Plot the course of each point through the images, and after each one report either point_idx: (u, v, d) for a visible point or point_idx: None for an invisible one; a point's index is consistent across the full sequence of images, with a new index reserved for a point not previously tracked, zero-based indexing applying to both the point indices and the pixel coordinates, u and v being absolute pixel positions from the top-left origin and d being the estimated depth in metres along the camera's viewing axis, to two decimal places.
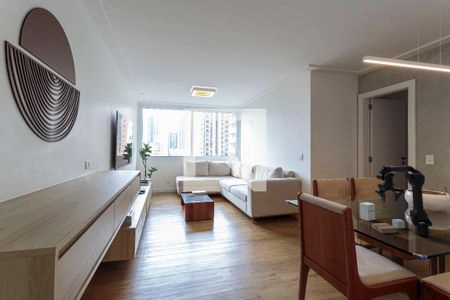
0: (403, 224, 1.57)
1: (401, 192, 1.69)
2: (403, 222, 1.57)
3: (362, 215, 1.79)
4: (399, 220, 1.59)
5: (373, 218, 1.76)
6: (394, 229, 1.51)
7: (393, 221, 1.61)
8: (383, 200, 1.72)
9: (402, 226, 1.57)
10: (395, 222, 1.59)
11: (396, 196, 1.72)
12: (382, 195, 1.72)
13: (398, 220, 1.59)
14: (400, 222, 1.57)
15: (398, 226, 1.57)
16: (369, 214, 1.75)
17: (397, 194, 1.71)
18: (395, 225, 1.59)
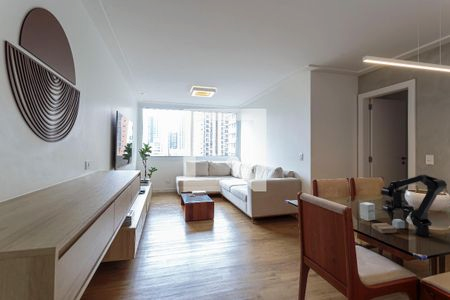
0: (403, 224, 1.57)
1: (411, 210, 1.56)
2: (403, 222, 1.57)
3: (362, 215, 1.79)
4: (399, 220, 1.59)
5: (373, 218, 1.76)
6: (394, 229, 1.51)
7: (393, 221, 1.61)
8: (391, 218, 1.59)
9: (402, 226, 1.57)
10: (395, 222, 1.59)
11: (405, 214, 1.59)
12: (390, 213, 1.59)
13: (398, 220, 1.59)
14: (400, 222, 1.57)
15: (398, 226, 1.57)
16: (369, 214, 1.75)
17: (406, 212, 1.58)
18: (395, 225, 1.59)
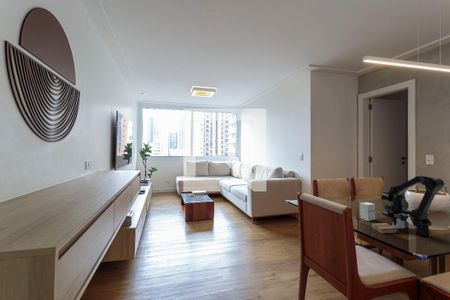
0: (403, 224, 1.57)
1: (411, 215, 1.56)
2: (403, 222, 1.57)
3: (362, 215, 1.79)
4: (399, 220, 1.59)
5: (373, 218, 1.76)
6: (394, 229, 1.51)
7: None
8: (394, 223, 1.59)
9: (402, 226, 1.57)
10: None
11: (402, 219, 1.59)
12: (393, 218, 1.59)
13: (398, 220, 1.59)
14: (400, 222, 1.57)
15: (398, 226, 1.57)
16: (369, 214, 1.75)
17: (403, 217, 1.58)
18: None
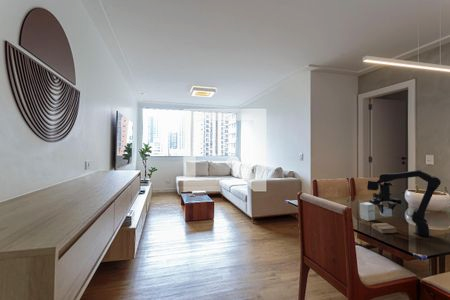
0: (390, 212, 1.54)
1: (398, 203, 1.53)
2: (390, 210, 1.54)
3: (362, 215, 1.79)
4: (386, 208, 1.56)
5: (373, 218, 1.76)
6: (394, 229, 1.51)
7: None
8: (381, 211, 1.56)
9: (389, 214, 1.54)
10: None
11: (390, 207, 1.56)
12: None
13: (385, 208, 1.56)
14: (387, 210, 1.54)
15: (385, 214, 1.54)
16: (369, 214, 1.75)
17: (391, 205, 1.55)
18: None
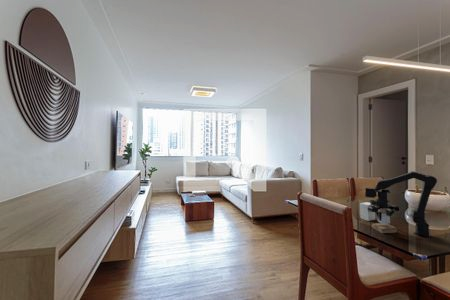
0: (388, 219, 1.53)
1: (396, 210, 1.52)
2: (388, 217, 1.53)
3: (362, 215, 1.79)
4: (384, 215, 1.55)
5: (373, 218, 1.76)
6: (394, 229, 1.51)
7: None
8: (379, 219, 1.55)
9: (387, 221, 1.53)
10: None
11: (388, 214, 1.55)
12: (378, 213, 1.55)
13: (383, 215, 1.55)
14: (385, 217, 1.53)
15: (383, 222, 1.53)
16: (369, 214, 1.75)
17: (389, 212, 1.54)
18: None
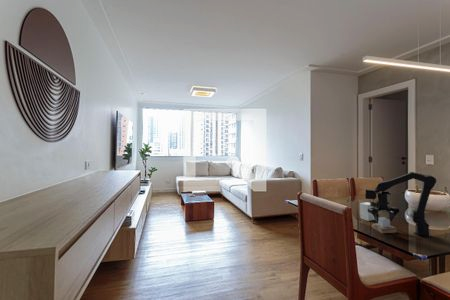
0: (388, 223, 1.53)
1: (396, 212, 1.52)
2: (388, 220, 1.53)
3: (362, 215, 1.79)
4: (384, 218, 1.55)
5: (373, 218, 1.76)
6: (394, 229, 1.51)
7: (378, 219, 1.57)
8: (376, 220, 1.55)
9: (387, 225, 1.53)
10: (380, 220, 1.55)
11: (391, 216, 1.55)
12: (375, 215, 1.55)
13: (383, 218, 1.55)
14: (385, 220, 1.53)
15: (384, 225, 1.53)
16: (369, 214, 1.75)
17: (392, 214, 1.54)
18: (380, 224, 1.55)
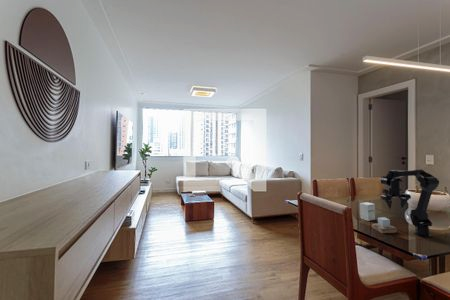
0: (388, 223, 1.53)
1: (408, 198, 1.61)
2: (388, 220, 1.53)
3: (362, 215, 1.79)
4: (384, 218, 1.55)
5: (373, 218, 1.76)
6: (394, 229, 1.51)
7: (378, 219, 1.57)
8: (389, 206, 1.63)
9: (387, 225, 1.53)
10: (380, 220, 1.55)
11: (402, 202, 1.63)
12: (388, 201, 1.63)
13: (383, 218, 1.55)
14: (385, 220, 1.53)
15: (384, 225, 1.53)
16: (369, 214, 1.75)
17: (403, 200, 1.62)
18: (380, 224, 1.55)
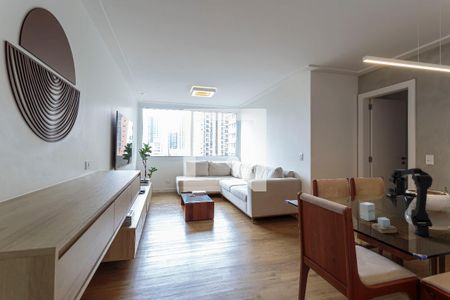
0: (388, 223, 1.53)
1: (413, 197, 1.63)
2: (388, 220, 1.53)
3: (362, 215, 1.79)
4: (384, 218, 1.55)
5: (373, 218, 1.76)
6: (394, 229, 1.51)
7: (378, 219, 1.57)
8: (394, 205, 1.66)
9: (387, 225, 1.53)
10: (380, 220, 1.55)
11: (408, 201, 1.66)
12: (393, 200, 1.66)
13: (383, 218, 1.55)
14: (385, 220, 1.53)
15: (384, 225, 1.53)
16: (369, 214, 1.75)
17: (409, 199, 1.65)
18: (380, 224, 1.55)
